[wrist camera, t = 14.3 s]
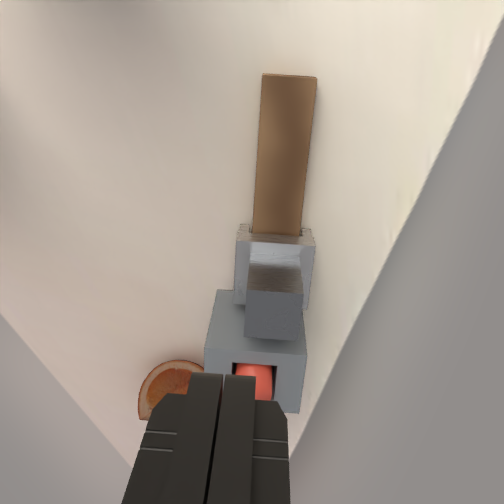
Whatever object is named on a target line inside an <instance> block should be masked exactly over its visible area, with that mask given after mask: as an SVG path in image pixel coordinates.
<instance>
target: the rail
mask: <svg viewBox="0 0 504 504" xmlns="http://www.w3.org/2000/svg"><path fill="white" fill-rule="evenodd" d="M316 85H317V78H316V77H309V76H294V75H280V74H265V73H263V75H262V90H261V105H260V120H259V136H258V151H257V166H256V181H255V196H254V212H253V227H252V233H260V234H274V235H288V236H299V233H300V224H301V215H302V207H303V198H304V189H305V181H306V172H307V163H308V155H309V146H310V137H311V129H312V120H313V111H314V103H315V94H316Z"/></svg>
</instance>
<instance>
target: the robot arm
mask: <svg viewBox="0 0 504 504" xmlns="http://www.w3.org/2000/svg"><path fill="white" fill-rule="evenodd" d="M255 390H256V376H245V375H232V374H226V375H225V381H224V388H223V374H217V373H204V372H192V374H191V377H190V381H189V385H188V389H187V394H174V393H166V395H165V396H164V397H163V398H162V399H161V400H160V401H159V402H158V403H157V405H156V406H155V407H154V408H153V409H152V412H151V415H150V418H149V421H148V424H147V427H146V432H145V433H144V436H143V439H142V442H141V445H140V450H139V451H138V455H137V458H136V461H135V464H134V467H133V470H132V473H131V476H130V479H129V482H128V485H127V488H126V492H125V495H124V497H123V500H122V503H121V504H290V481H289V462H288V459H289V455H288V428H287V418H286V416H285V415H284V413H283V411H282V409H281V407H280V405H279V403H278V402H277V401H267V400H255Z"/></svg>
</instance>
